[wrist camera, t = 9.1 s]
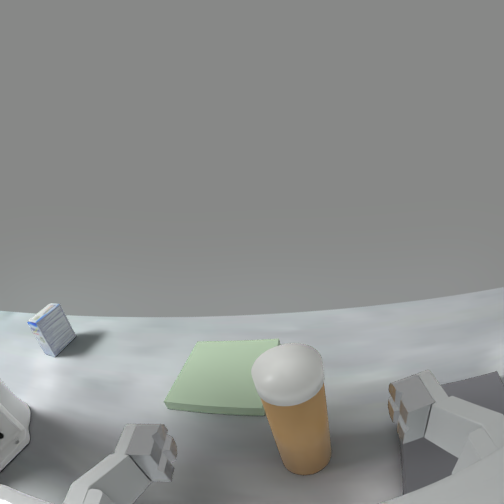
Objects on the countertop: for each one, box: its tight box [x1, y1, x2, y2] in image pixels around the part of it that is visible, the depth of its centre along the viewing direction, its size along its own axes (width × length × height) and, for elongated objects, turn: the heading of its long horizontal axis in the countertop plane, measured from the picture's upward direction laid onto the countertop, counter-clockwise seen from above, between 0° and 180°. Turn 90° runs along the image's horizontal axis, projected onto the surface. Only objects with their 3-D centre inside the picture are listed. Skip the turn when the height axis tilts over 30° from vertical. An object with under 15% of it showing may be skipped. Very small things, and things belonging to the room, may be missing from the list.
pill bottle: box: [251, 343, 331, 475], centre depth 24 cm, size 5×5×13 cm
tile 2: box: [399, 371, 504, 495], centre depth 21 cm, size 13×13×2 cm
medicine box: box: [28, 303, 76, 357], centre depth 55 cm, size 8×4×9 cm, turn 164°
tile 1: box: [164, 339, 280, 416], centre depth 40 cm, size 13×13×2 cm
